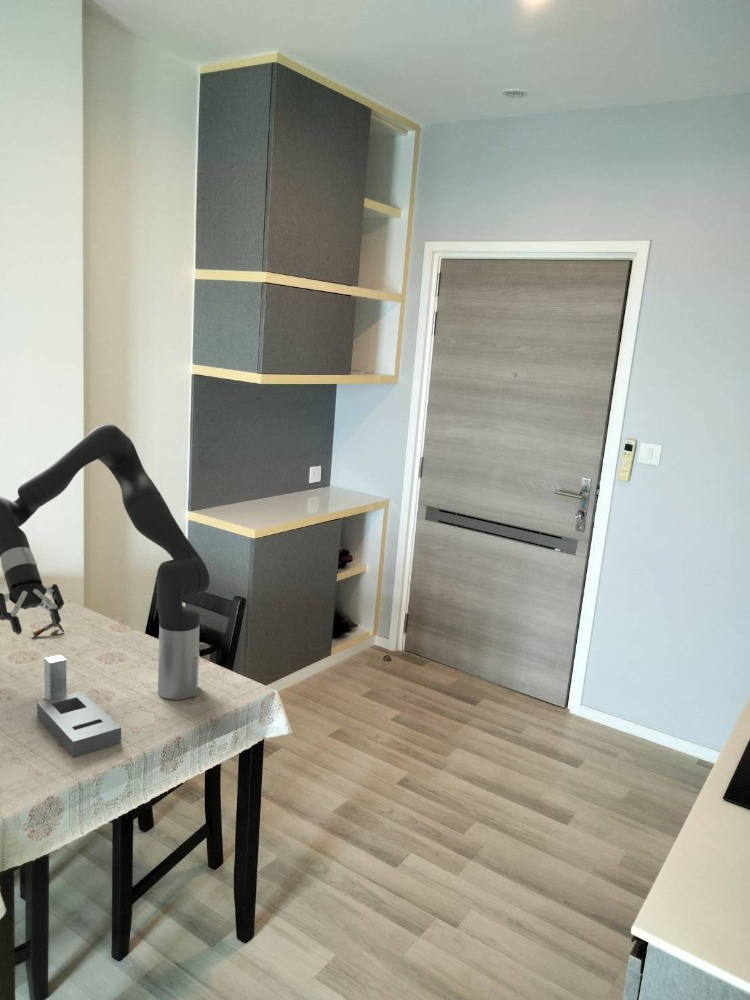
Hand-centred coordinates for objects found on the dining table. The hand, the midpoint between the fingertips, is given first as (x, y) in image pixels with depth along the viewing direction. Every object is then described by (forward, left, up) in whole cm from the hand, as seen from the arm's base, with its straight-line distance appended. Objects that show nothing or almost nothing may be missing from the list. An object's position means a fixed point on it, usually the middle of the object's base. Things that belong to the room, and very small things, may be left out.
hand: (38, 629), depth 179 cm
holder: (-14, +23, -13) cm, 30 cm away
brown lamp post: (+5, -29, -14) cm, 33 cm away
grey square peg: (-6, +9, -14) cm, 17 cm away
